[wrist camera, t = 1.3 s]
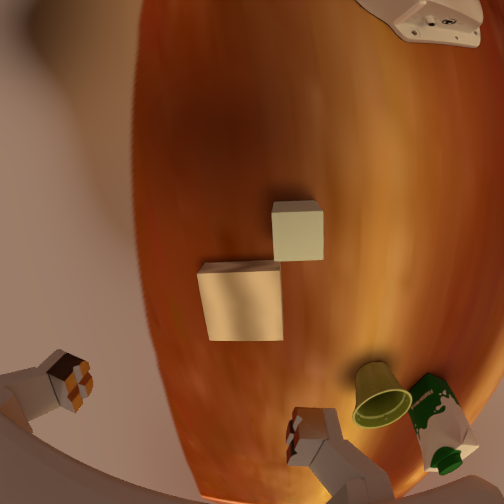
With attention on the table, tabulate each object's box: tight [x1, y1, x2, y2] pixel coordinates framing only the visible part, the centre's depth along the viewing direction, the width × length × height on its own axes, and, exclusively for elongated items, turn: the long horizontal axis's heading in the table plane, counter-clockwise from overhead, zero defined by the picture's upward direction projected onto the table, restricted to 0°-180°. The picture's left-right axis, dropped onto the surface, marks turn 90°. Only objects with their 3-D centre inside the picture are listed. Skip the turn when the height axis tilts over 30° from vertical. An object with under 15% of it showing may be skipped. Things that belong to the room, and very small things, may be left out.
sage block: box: [272, 200, 323, 261], centre depth 31 cm, size 5×5×7 cm
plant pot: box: [352, 362, 412, 429], centre depth 36 cm, size 9×9×9 cm
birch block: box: [197, 260, 284, 341], centre depth 36 cm, size 10×10×4 cm
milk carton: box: [408, 373, 480, 475], centre depth 32 cm, size 9×9×20 cm
